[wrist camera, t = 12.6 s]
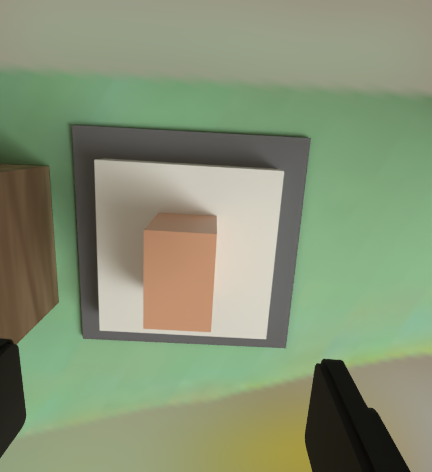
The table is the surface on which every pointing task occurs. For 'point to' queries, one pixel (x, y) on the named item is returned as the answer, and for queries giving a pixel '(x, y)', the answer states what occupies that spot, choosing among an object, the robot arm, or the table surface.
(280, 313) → the mat
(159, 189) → the lid
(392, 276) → the table surface
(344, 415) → the robot arm
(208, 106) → the table surface
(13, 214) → the box
